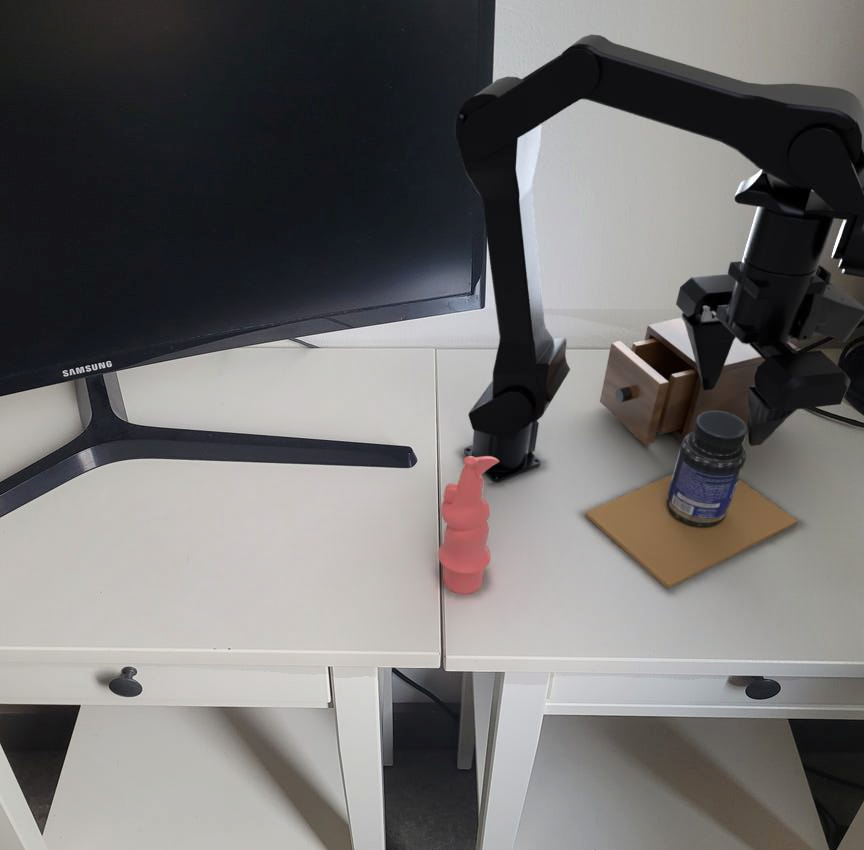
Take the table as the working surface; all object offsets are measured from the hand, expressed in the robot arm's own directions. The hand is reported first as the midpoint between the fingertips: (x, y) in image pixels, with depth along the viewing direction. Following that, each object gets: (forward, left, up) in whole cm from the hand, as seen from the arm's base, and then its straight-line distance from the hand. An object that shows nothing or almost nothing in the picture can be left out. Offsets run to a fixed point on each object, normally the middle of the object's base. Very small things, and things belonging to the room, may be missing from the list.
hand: (730, 415), depth 77 cm
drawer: (+9, +15, -12) cm, 21 cm away
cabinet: (+15, +14, -13) cm, 24 cm away
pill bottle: (0, +1, -13) cm, 13 cm away
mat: (-1, 0, -13) cm, 13 cm away
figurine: (-26, +5, -13) cm, 30 cm away
